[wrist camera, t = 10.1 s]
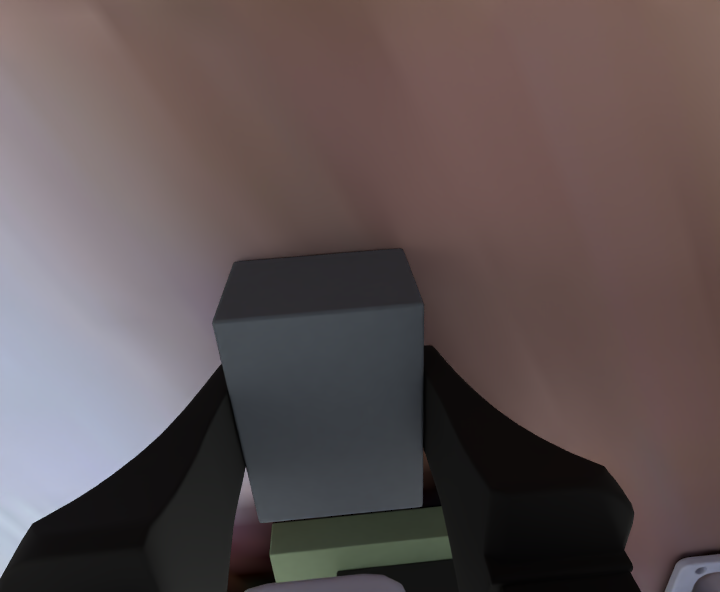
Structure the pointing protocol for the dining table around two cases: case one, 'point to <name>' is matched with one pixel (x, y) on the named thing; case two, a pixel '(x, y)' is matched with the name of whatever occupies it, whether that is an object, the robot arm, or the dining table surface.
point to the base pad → (357, 543)
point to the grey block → (326, 381)
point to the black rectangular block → (417, 575)
